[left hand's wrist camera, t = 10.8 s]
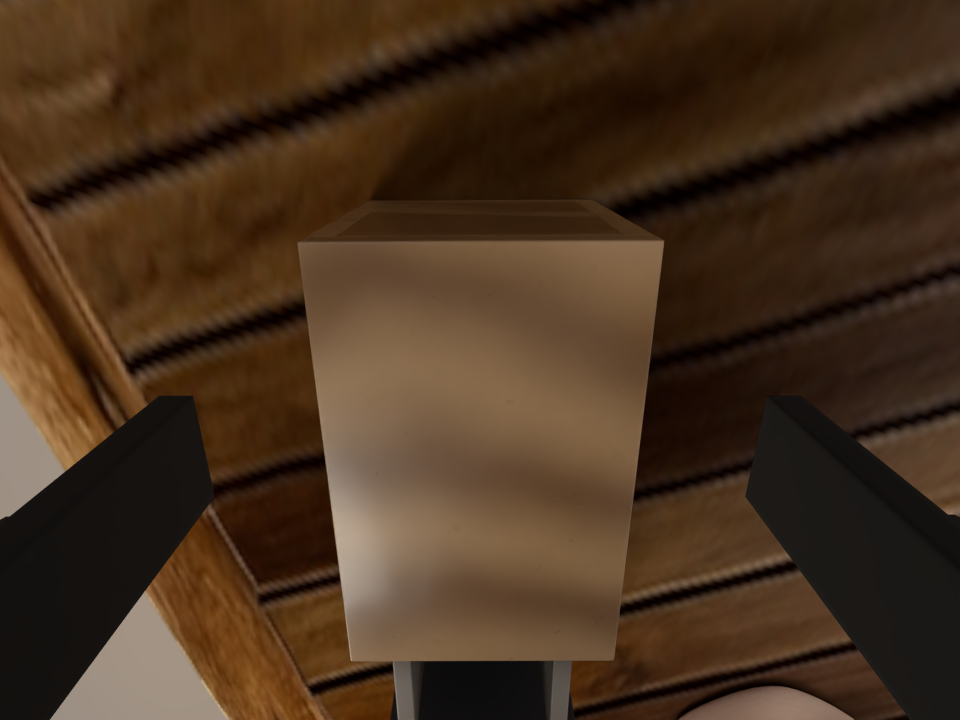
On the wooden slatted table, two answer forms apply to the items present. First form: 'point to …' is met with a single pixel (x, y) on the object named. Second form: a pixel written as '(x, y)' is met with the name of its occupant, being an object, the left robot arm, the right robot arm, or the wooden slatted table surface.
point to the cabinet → (481, 421)
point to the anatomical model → (766, 706)
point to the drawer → (482, 690)
